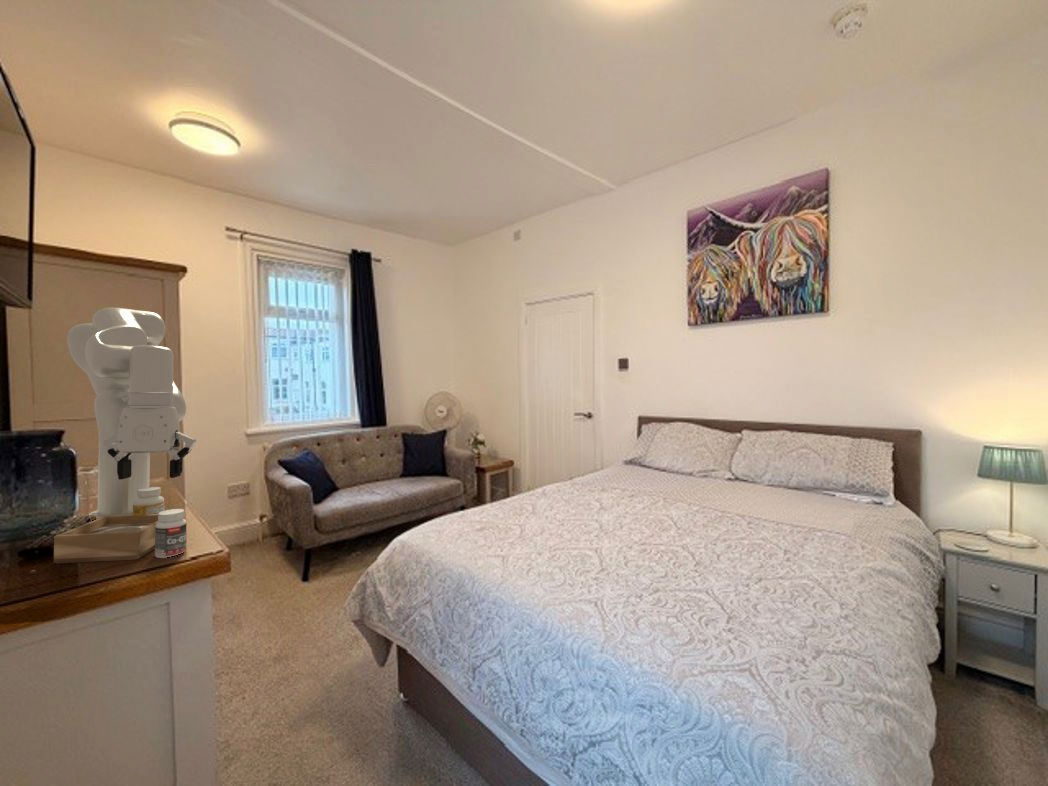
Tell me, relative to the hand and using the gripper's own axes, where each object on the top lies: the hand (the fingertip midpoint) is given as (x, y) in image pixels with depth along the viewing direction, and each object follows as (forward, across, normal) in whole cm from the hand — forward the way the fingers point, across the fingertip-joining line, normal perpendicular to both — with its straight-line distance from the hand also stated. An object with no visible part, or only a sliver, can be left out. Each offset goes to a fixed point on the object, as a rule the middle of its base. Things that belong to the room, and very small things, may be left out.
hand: (150, 477), depth 97 cm
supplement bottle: (+12, -1, +1) cm, 12 cm away
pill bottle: (+13, +11, -15) cm, 23 cm away
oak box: (+12, 0, -10) cm, 16 cm away
